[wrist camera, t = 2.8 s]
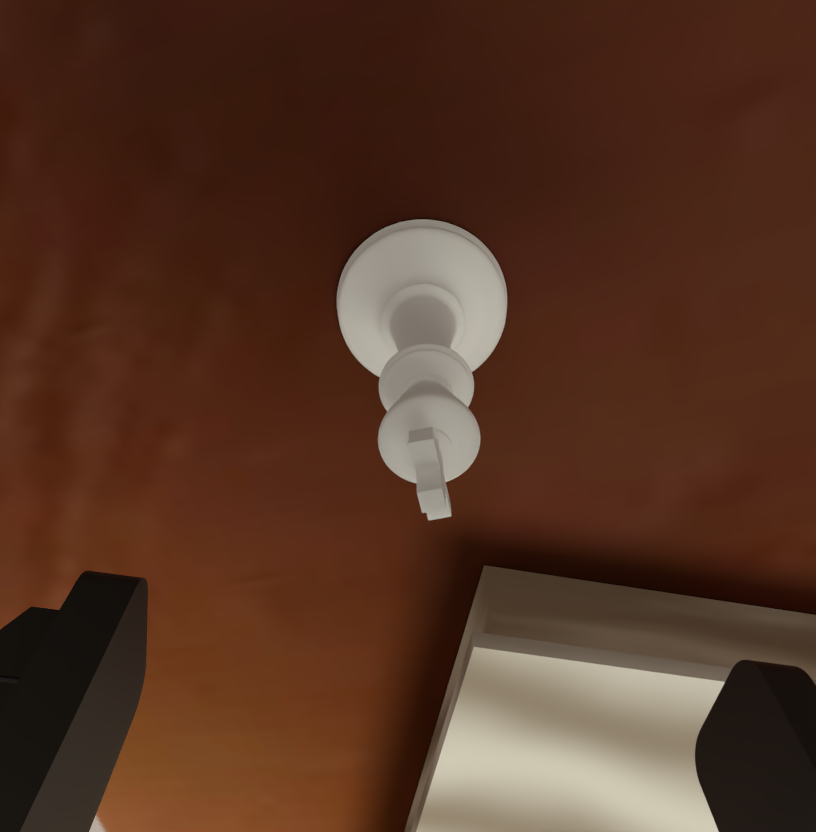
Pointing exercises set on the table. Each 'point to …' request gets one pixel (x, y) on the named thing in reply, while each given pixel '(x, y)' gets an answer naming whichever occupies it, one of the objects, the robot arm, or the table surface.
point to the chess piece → (424, 344)
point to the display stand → (588, 705)
